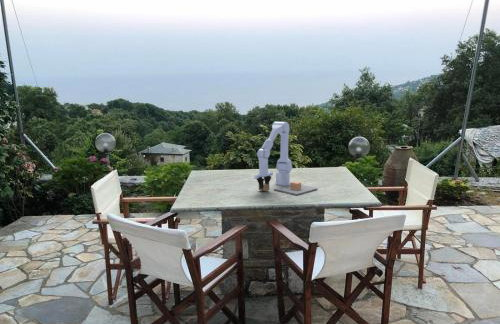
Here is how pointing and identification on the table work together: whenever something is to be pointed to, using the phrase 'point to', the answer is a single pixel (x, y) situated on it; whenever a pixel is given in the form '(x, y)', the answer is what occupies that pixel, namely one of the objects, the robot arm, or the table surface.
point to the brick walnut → (264, 187)
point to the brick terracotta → (295, 185)
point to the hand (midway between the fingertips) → (264, 187)
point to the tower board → (295, 192)
